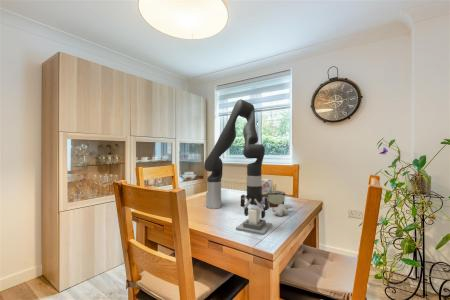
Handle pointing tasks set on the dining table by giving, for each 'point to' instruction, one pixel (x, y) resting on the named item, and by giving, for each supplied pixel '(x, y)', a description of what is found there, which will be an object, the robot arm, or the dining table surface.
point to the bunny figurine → (281, 210)
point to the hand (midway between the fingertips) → (254, 216)
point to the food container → (276, 198)
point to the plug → (254, 216)
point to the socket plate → (254, 227)
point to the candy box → (266, 187)
